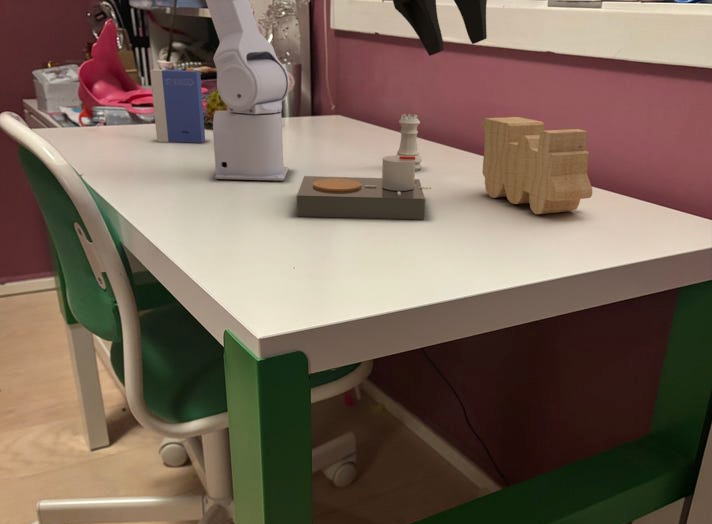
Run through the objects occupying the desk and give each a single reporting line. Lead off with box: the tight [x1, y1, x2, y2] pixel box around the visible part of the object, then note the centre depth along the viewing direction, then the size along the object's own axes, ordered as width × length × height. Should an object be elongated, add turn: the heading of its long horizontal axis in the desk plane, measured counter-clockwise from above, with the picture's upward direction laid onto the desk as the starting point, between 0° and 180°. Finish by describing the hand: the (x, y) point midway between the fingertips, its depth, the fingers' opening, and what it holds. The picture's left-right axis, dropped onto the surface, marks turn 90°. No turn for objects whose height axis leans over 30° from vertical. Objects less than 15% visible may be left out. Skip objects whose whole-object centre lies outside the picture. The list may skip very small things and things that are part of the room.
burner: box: [313, 179, 362, 192], centre depth 91 cm, size 6×6×1 cm
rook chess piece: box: [395, 113, 423, 172], centre depth 114 cm, size 4×4×8 cm
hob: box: [296, 175, 432, 221], centre depth 92 cm, size 16×11×3 cm
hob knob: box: [381, 155, 416, 191], centre depth 91 cm, size 4×4×4 cm
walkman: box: [149, 67, 206, 144], centre depth 128 cm, size 8×3×12 cm, turn 91°
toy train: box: [481, 116, 593, 215], centre depth 95 cm, size 6×17×10 cm, turn 27°
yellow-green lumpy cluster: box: [204, 88, 227, 127], centre depth 148 cm, size 17×16×10 cm
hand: (458, 47), depth 90 cm, fingers open, 7 cm apart
